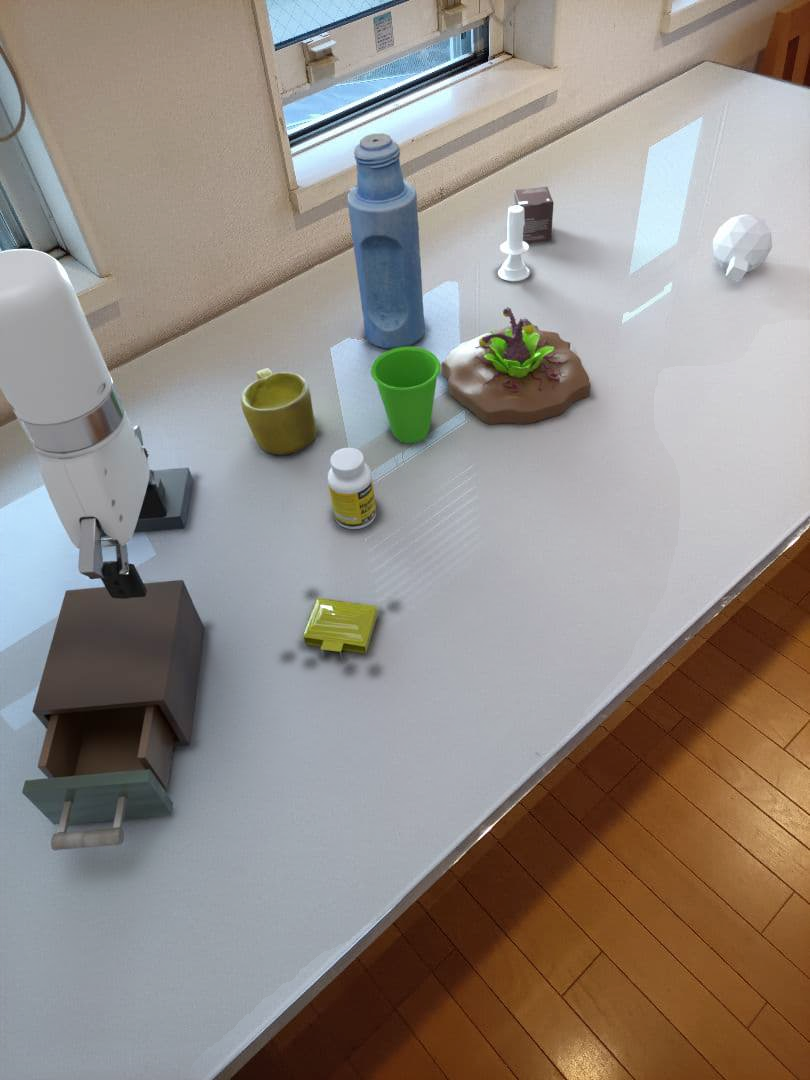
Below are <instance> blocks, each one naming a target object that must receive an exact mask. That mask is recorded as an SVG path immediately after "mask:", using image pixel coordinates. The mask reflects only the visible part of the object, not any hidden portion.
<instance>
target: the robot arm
mask: <svg viewBox="0 0 810 1080" xmlns="http://www.w3.org/2000/svg"><path fill="white" fill-rule="evenodd" d="M94 335H95V334H94V333H93V331H92V329H91V326H90V324H89V321H88V319H87V317H86V314H85V312H84V310H83V307H82V304H81V302H80V300H79V298H78V296H77V293H76V290H75V288H74V286H73V283H72V281H71V279H70V277H69V274H67V271H66V270H65V268H64V267H63V266H62V264H61V263H60V261H58V260H57V259H56V258H54V257H53V256H52V255H50V254H49V253H47V252H44V251H41V250H36V249H30V248H15V249H8V250H3V251H0V390H1V392H2V394H3V395H4V397H5V399H6V401H7V402H8V403H7V404H9V406H10V408H11V410H12V411H13V413H14V415H15V417H16V419H17V420H18V422H19V424H20V426H21V427H22V429H23V431H24V433H25V435H26V437H27V438H28V441H29V442H30V443H31V445H32V447H33V448H34V450H35V451H37V452H38V453H37V457H36V460H37V464H38V467H39V471H40V474H41V477H42V481H43V484H44V486H45V489H46V491H47V494H48V496H49V497H48V498H50V501H51V503H52V506H53V508H54V510H55V512H56V514H57V516H58V518H59V520H60V523H61V525H62V527H63V529H64V530H65V532H66V534H67V536H68V538H69V540H70V541H71V543H72V544H73V546H74V547H75V548H76V549H79V551H78V566H77V567H78V572H79V574H81V575H83V576H84V577H85V576H86V577H88V578H89V580H100V581H101V582H102V584H103V585H104V587H106V589H107V591H108V592H109V594H110V596H111V597H112V598H120V599H127V598H136V597H145V596H146V593H147V589H146V587H145V585H144V583H145V582H144V581H143V579H142V577H141V575H140V573H139V571H138V569H137V567H136V565H135V564H134V563H129V553H128V545H127V544H128V543H129V542H130V541H131V539H132V538H133V536H134V534H135V532H134V530H135V527H136V524H137V521H138V519H148V518H163V517H165V516H166V515H167V508H166V506H165V504H164V501H163V499H162V497H161V494H160V492H159V490H158V487H157V485H156V484H151V483H154V480H155V475H154V472H153V471H154V470H153V469H150V465H149V460H148V459H149V453H148V450H147V448H145V447H144V441H143V435H142V430H141V427H140V425H133V424H132V423H131V421H130V419H129V418H128V417H129V416H127V412H126V408H125V406H124V404H123V401H122V400H121V397H120V394H119V392H118V390H117V387H116V385H115V382H114V381H113V378H112V376H111V375H112V374H111V373H110V371H109V369H108V366H107V364H106V361H105V359H104V357H103V354H102V351H101V350H100V347H99V345H98V343H97V340H96V338H95V336H94ZM152 470H153V471H152ZM102 530H103V531H104V533H105V534H107V535H106V536H107V537H102V536H101V531H102ZM103 547H104V548H105V547H114V548H115V549H114V550H115V557H116V560H107V561H105V560H104V556H103Z"/></svg>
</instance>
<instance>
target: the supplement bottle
mask: <svg viewBox="0 0 810 1080" xmlns="http://www.w3.org/2000/svg"><path fill="white" fill-rule="evenodd" d="M329 462H330V467H331V468H330V469H329V471H328V473H327V484H328V490H329V494H330V495H329V496H330V502H331V507H332V512H333V516H334V520H335V521H336V523H337V524H338V525H339V526H340V527H342V528H344V529H348V530H359V529H363V528H365V527H367V526H369V525H370V524H371V523H373V522H374V520H375V518H376V516H377V505H376V497H375V489H374V479H373V474H372V471H371V468H370V467H369V465H368V464H366V462H365V458H364V454H363V452H362V451H361V450H359V449H358V448H355V447H342V448H340V449H337V450H336V451H335V452H334V453H332V455H331V456H330V461H329Z"/></svg>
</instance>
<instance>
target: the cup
mask: <svg viewBox="0 0 810 1080" xmlns="http://www.w3.org/2000/svg"><path fill="white" fill-rule="evenodd" d="M440 372H441V362H440V359H439V358H438V357H437V356H436V355H435V354H434V353H433V352H431V351H430V350H427V349H425V348H423V347H418V346H408V347H399V348H395V349H388V350H387V351H385V352H383V353H381V354H379V355H378V356H377V357H376V358H375V360H374V361H373V362H372V365H371V367H370V374H371V378H372V379H373V380H374V382H375V383H376V386H377V389H378V391H379V392H378V393H379V394H380V395H379V396H380V398H381V401H382V405H383V408H384V411H385V414H386V417H387V421H388V423H389V427H390V429H391V433H392V435H393V437H394V438H395V439H396V440H398V441H399V442H401V443H404V444H415V443H419V442H421V441H424V440H425V439H426V438H427V437H428V434H429V432H430V431H431V429H430V428H431V422H432V416H433V409H434V400H435V393H436V387H437V379H438V376H439V375H440Z"/></svg>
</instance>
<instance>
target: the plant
mask: <svg viewBox="0 0 810 1080" xmlns="http://www.w3.org/2000/svg"><path fill="white" fill-rule="evenodd" d="M502 314H503V316H504V317H506V318H509V324H510V326H506V327H503V328H500V329H496V330H493V331H492V330H491V331H489V332H487V333H486V332H485V333H482V334H481V335H479V336H477V337H475V338H473V339H470V340H467V341H463V342H461V343H459V344H458V346H456V347H455V348H453V349H451V350H450V351H449V352H448V354H447V356H446V357H445V358H444V359H443V360H442V361H441V362H440V365H441V369H440V372H441V376H443V377H444V378H446V379H447V393H448V394H449V395H450V397H452V398H453V399H455V400H456V401H457V402H458V403H460V404H461V405H462V406H464V407H465V408H466V409H468V410H469V411H471V413H473V414H474V415H475V416H476V417H477V418H479V419H480V420H481V421H482V422H484V423H485V424H488V425H497V424H517V425H525V424H532V423H533V424H534V423H536V422H537V423H538V422H539V421H543V420H546V419H549V418H553V417H557V416H559V415H562V414H563V413H564V412H565V411H566V410H567V408H568V407H569V406H570V405H572V404H574V403H576V402H578V401H581V400H583V399H586V398H588V397H590V395H591V381H590V378H589V374H588V373H587V371H586V369H585V368H584V366H583V364H582V360H581V359H580V357H579V356H578V355H577V354H576V353H575V352H574V351H573V350H571V342H569V341H566V340H563V339H562V338H561V336H560V334H559V333H558V332H555V331H546V330H540V329H539V327H538V325H535V324H533V323H532V322H530V320H529V319H528V318H526V317H522V318H519V320H518V321H516V318H515V315H514V313H513V311H512V309H511V308H510V307H509V306H507V307H505V308H503V310H502Z"/></svg>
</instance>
